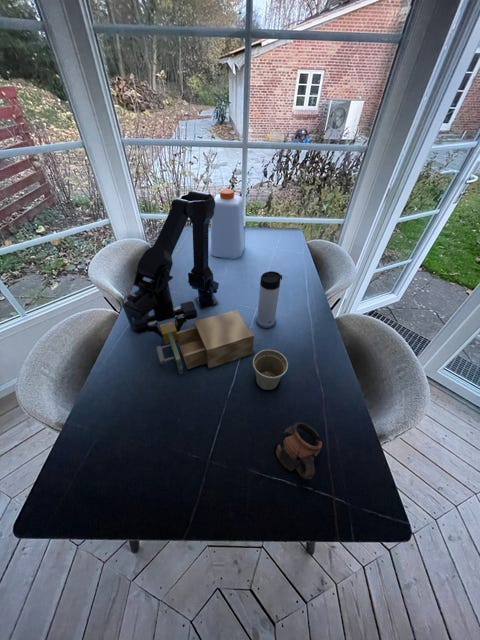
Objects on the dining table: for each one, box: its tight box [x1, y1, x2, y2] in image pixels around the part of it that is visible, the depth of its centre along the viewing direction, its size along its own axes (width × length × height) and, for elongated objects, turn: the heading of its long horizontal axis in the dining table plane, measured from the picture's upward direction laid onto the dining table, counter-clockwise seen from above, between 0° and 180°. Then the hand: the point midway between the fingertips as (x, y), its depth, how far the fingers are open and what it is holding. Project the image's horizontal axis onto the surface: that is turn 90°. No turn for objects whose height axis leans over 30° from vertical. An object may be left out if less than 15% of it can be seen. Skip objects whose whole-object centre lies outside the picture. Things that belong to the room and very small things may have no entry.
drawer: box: [155, 326, 208, 375], centre depth 79 cm, size 18×11×7 cm, turn 114°
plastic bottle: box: [210, 188, 245, 260], centre depth 121 cm, size 15×15×28 cm
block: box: [159, 321, 178, 345], centre depth 86 cm, size 4×4×4 cm
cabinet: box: [193, 309, 255, 369], centre depth 83 cm, size 15×13×9 cm
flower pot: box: [252, 349, 289, 391], centre depth 74 cm, size 9×9×9 cm
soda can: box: [122, 293, 151, 331], centre depth 88 cm, size 7×7×12 cm
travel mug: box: [256, 270, 283, 329], centre depth 88 cm, size 6×7×20 cm
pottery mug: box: [275, 421, 323, 480], centre depth 60 cm, size 12×10×8 cm
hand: (170, 335), depth 87 cm, fingers closed on block, 4 cm apart
